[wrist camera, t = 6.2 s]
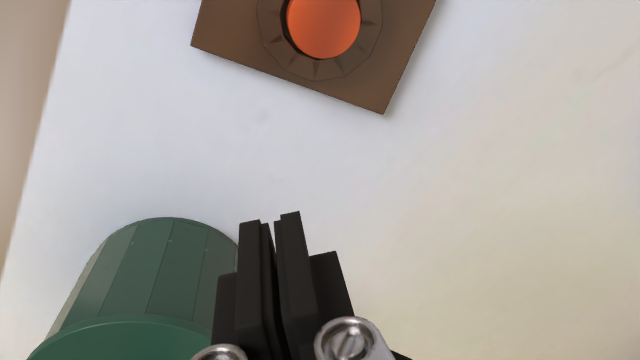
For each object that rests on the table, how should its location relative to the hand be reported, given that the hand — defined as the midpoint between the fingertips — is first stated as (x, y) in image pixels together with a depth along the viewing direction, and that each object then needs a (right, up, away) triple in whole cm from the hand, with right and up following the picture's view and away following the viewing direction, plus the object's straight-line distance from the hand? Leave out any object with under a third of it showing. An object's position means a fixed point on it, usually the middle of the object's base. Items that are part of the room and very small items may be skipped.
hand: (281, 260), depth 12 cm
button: (+1, +11, +11) cm, 15 cm away
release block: (+1, +12, +13) cm, 17 cm away
